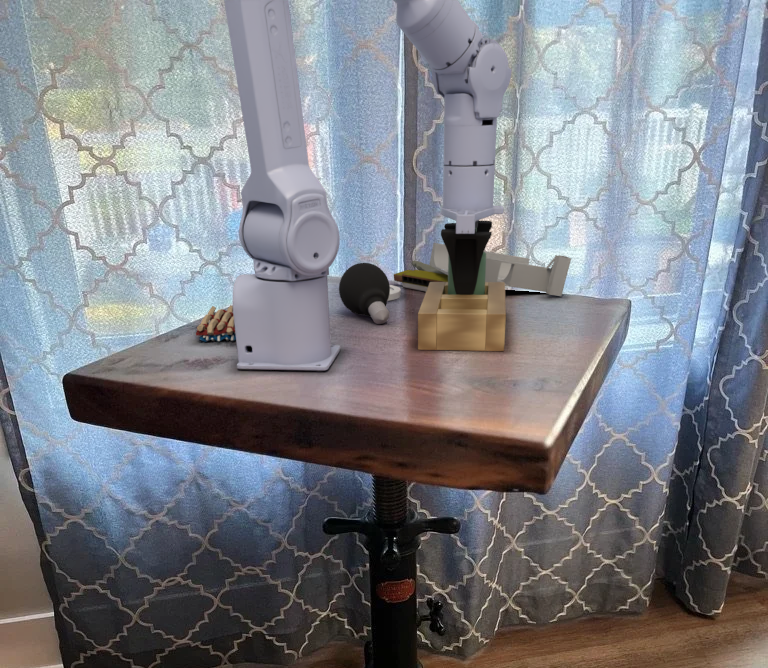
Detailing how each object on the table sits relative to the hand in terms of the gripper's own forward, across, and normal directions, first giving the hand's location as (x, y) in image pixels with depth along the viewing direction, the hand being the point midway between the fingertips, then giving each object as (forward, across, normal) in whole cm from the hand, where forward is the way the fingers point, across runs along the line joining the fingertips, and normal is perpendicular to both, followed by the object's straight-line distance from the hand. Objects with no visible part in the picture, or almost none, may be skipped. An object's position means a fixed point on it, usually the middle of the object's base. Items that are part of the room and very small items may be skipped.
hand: (465, 289), depth 93 cm
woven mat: (+2, -5, +26) cm, 27 cm away
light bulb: (+4, +3, +12) cm, 13 cm away
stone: (+3, +27, +8) cm, 28 cm away
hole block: (+4, -4, 0) cm, 5 cm away
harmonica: (+2, +18, +5) cm, 19 cm away
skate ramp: (+3, +18, -3) cm, 18 cm away
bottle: (+3, 0, 0) cm, 3 cm away
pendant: (+3, +16, +14) cm, 22 cm away
